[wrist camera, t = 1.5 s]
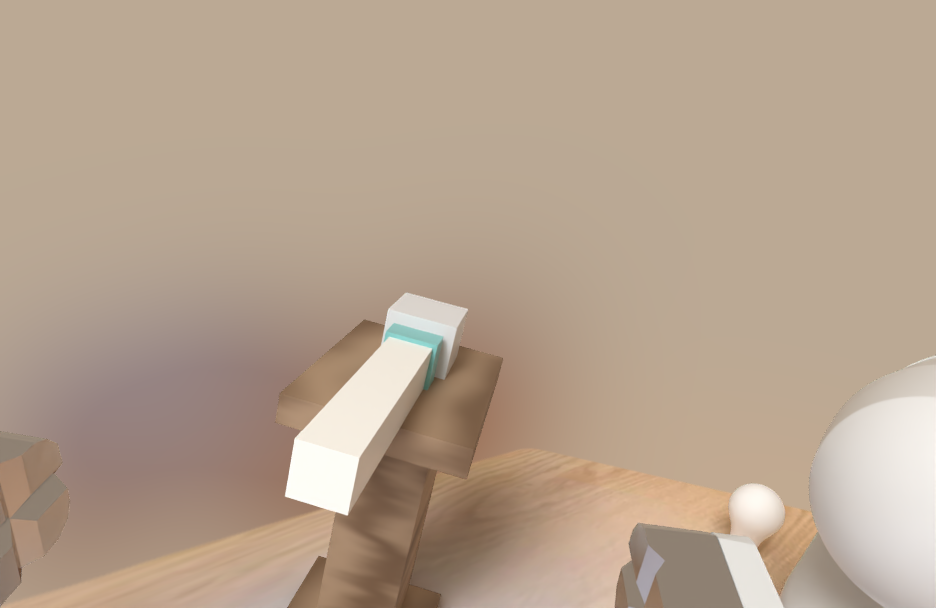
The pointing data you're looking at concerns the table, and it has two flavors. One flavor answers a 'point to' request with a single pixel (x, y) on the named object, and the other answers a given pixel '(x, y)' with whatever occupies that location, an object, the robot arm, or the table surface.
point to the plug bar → (374, 404)
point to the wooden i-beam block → (390, 474)
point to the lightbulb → (755, 512)
